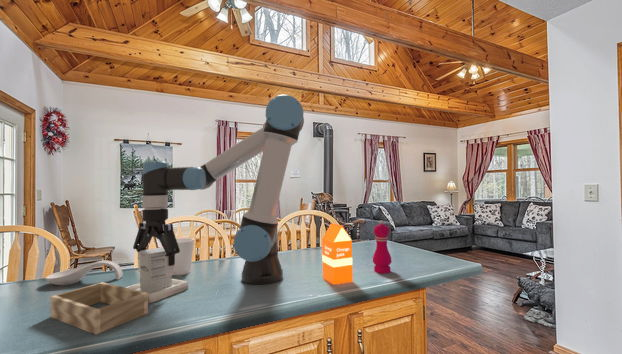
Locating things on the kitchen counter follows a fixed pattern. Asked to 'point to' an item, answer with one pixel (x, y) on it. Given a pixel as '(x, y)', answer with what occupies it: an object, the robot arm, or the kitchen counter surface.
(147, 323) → the kitchen counter surface
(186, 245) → the foam cup
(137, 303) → the crate
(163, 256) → the supplement box
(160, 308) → the kitchen counter surface
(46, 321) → the kitchen counter surface
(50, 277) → the spoon rest
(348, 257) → the orange juice
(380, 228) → the pepper mill
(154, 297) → the tray
